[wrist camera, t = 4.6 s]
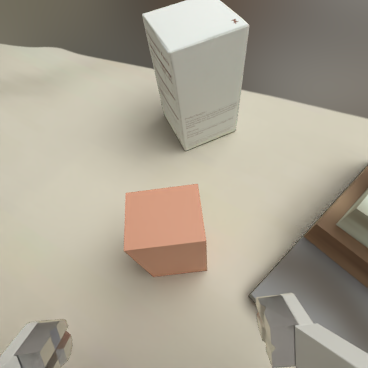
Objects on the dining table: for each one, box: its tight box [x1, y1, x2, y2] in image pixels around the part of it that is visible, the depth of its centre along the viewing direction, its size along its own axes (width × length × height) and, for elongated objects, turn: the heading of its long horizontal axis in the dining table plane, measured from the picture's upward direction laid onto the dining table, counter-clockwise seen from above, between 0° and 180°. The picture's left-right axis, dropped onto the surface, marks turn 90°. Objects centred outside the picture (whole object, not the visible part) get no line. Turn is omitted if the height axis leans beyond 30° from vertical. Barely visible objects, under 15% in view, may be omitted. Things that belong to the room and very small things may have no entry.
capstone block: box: [124, 184, 207, 277], centre depth 19 cm, size 4×5×9 cm
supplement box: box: [142, 0, 249, 151], centre depth 26 cm, size 7×7×13 cm
